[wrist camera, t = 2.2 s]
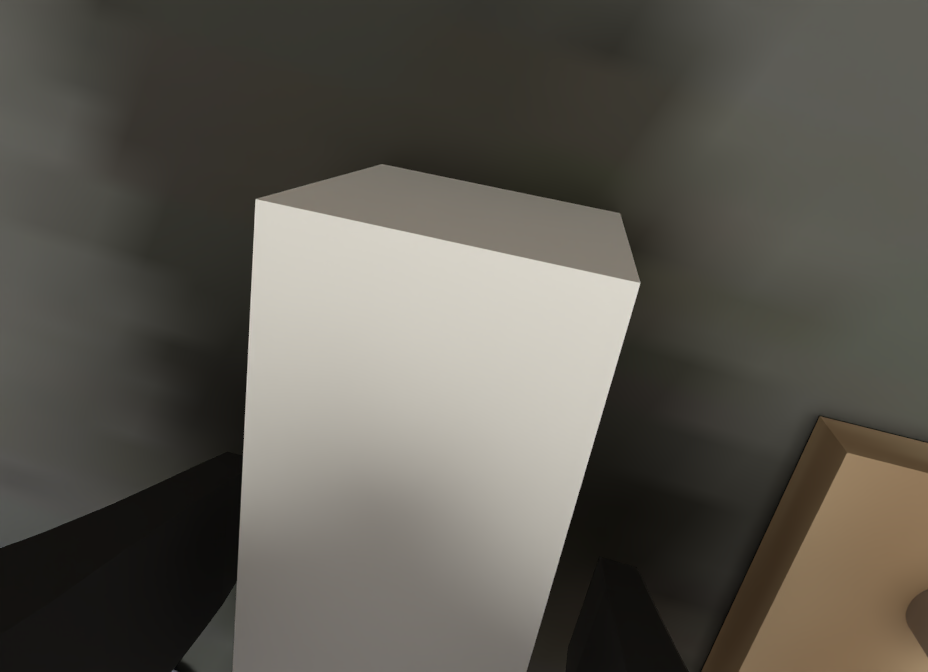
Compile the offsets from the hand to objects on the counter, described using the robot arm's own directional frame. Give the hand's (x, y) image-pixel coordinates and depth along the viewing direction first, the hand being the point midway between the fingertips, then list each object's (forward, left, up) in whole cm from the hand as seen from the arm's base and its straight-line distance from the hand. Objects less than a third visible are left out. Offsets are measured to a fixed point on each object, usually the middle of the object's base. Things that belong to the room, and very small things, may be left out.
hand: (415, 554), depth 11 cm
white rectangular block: (0, 0, -2) cm, 2 cm away
